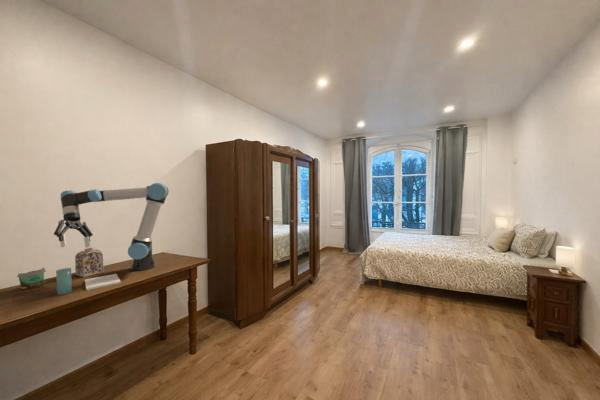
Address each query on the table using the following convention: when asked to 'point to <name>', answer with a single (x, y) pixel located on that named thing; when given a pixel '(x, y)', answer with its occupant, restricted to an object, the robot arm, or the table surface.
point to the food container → (31, 279)
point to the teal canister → (64, 281)
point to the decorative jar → (89, 262)
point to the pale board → (102, 281)
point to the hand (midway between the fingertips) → (76, 246)
